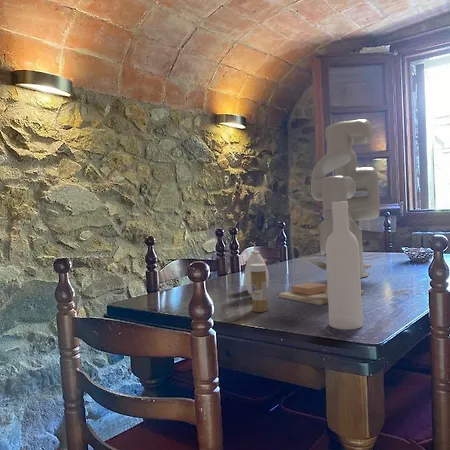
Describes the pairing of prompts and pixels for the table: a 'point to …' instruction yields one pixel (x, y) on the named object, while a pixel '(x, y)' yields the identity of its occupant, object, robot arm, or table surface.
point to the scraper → (319, 264)
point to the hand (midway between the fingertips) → (338, 274)
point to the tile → (309, 288)
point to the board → (308, 297)
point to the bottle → (343, 273)
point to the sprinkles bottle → (259, 287)
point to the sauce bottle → (253, 259)
